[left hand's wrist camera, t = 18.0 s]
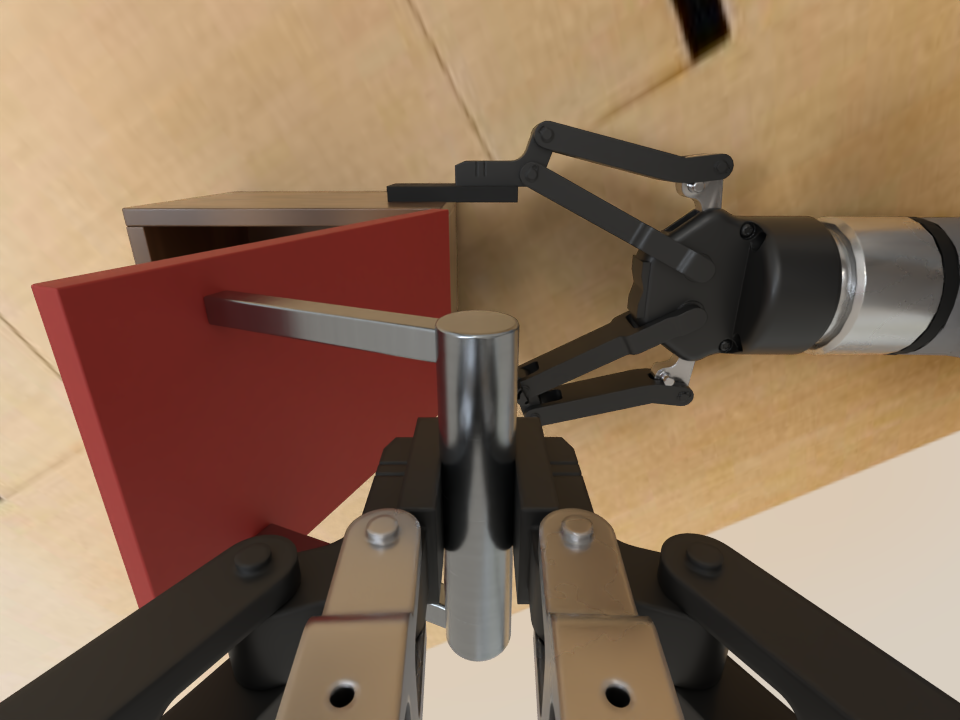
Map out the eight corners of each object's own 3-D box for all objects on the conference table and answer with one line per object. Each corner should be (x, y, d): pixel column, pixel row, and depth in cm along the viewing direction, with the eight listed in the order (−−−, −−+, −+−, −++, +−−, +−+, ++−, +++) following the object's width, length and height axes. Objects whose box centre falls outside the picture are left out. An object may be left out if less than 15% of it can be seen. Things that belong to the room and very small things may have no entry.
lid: (151, 646, 13) (448, 805, 10) (28, 284, 9) (429, 347, 6) (439, 398, 26) (605, 431, 23) (432, 208, 22) (627, 217, 19)
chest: (257, 327, 36) (168, 394, 26) (234, 191, 33) (120, 208, 23) (458, 327, 36) (447, 395, 26) (455, 191, 33) (441, 207, 23)
